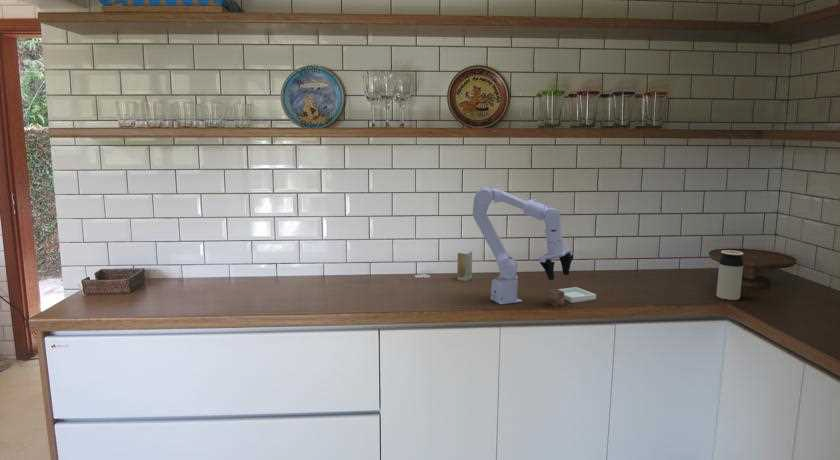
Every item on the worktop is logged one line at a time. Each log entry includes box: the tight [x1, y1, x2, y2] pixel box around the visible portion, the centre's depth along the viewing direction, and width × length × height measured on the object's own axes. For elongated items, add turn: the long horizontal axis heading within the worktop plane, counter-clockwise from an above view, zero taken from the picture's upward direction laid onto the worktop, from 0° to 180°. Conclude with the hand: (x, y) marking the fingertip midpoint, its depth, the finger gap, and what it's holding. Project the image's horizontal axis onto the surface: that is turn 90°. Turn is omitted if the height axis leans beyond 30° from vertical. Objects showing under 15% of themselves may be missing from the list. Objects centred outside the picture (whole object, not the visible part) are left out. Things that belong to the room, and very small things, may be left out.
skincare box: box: [456, 250, 473, 282], centre depth 239 cm, size 6×4×12 cm
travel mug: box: [716, 249, 745, 301], centre depth 212 cm, size 8×8×18 cm
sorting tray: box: [556, 286, 597, 304], centre depth 213 cm, size 12×12×2 cm
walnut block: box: [547, 289, 565, 307], centre depth 203 cm, size 4×4×5 cm
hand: (558, 277), depth 203 cm, fingers open, 7 cm apart
